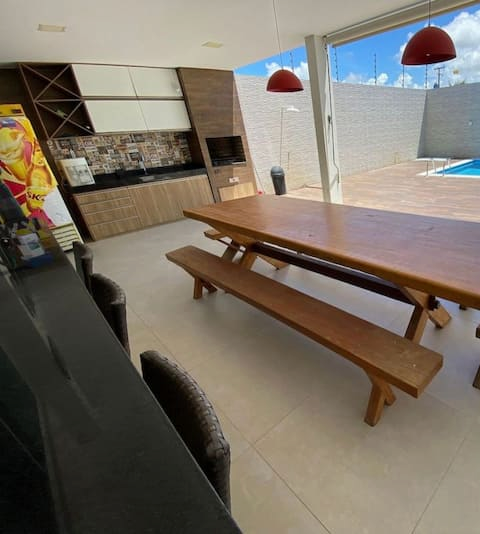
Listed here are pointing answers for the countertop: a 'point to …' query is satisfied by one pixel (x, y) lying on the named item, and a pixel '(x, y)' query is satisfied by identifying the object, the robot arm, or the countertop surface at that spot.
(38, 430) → the countertop surface
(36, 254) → the syrup box
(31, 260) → the holder
